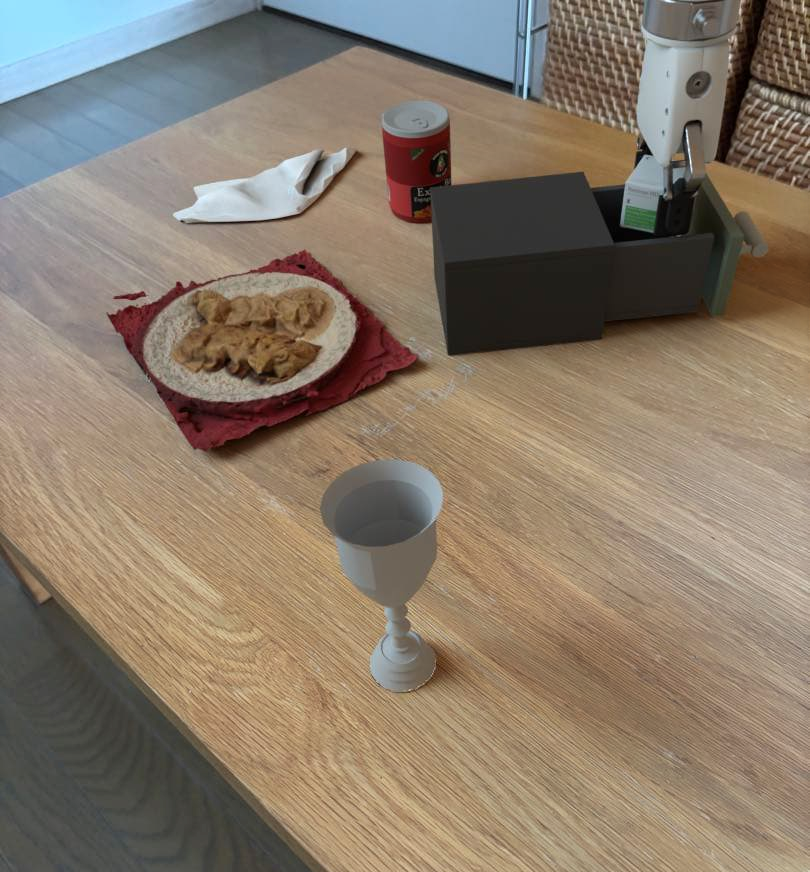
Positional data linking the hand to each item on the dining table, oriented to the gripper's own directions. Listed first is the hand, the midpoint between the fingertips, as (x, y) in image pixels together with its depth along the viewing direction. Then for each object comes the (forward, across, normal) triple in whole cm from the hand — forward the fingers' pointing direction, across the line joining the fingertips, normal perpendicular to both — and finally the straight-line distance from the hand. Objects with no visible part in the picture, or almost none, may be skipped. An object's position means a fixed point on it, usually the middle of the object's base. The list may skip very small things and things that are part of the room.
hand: (658, 210), depth 84 cm
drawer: (+9, 0, -1) cm, 9 cm away
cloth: (+9, +29, +40) cm, 50 cm away
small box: (+1, 0, 0) cm, 1 cm away
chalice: (+10, -42, +29) cm, 52 cm away
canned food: (+9, +22, +22) cm, 32 cm away
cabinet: (+9, 0, +14) cm, 17 cm away
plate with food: (+9, -2, +41) cm, 42 cm away
